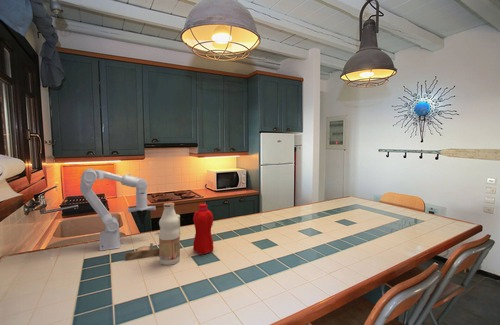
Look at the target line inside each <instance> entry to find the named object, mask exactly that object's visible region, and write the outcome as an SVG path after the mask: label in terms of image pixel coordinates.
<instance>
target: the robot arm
mask: <svg viewBox="0 0 500 325" xmlns="http://www.w3.org/2000/svg"><path fill="white" fill-rule="evenodd" d="M102 179H103V180H104V179H107V180H111V181H116V182H120V183H121V185H122V186H126V187H131V188H135V201H136V202H135V207H134V206H133V207H128V208H127V213H132V212H136V214H137V216H138V218H139V221H140V224H141V225H143V224H144V222H145V218H146V215H147V213H148V211H156V209H157V208H156V205H148V192H147V190H148V189H147V188H148V186H149V184H148V182H147V180H146V179H144V178H142V177H139V176H137V177H136V176H132V175H131V174H123V175H121V174H120V175H119V174H116V173H112V172H108V171H105V170H103V169H102V170H100V169H94V168H87V169H84V170H83V172H82V174H81V177H80V185H79V191H80V193H81V195H82V196H83V197H84V199H86V201H87V202H88V203H89V204H90V206H91V208H92V209H93V210H94V211H95V212H96V214H97V215H98V216H99V218H100V219H101V221H102V223H103V224H104V225H105V227H104V230H103V231H100V232H99V236H98V237H99V251H108V250H115V249H120V248H121V245H122V242H121V240H120V238H121V237H120V224H119V222H118V218H117V217H116V216H113V215H112V214H111V213H110V212H109V211H108V210H109V209H107V207H106V206H105V205H104V204H103V202H102V201H101V200H100V198H99V197H98V196H97V194H96V193H95V191H94V190H93V185H94V183H95V181H97V180H98V181H100V180H102Z"/></svg>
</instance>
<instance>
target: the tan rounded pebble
mask: <svg viewBox="0 0 500 325" xmlns="http://www.w3.org/2000/svg"><path fill="white" fill-rule="evenodd" d="M148 249H150V246H147V245H144V246H143V245H142V246H140V247H138V248H136V251H141V250H148Z"/></svg>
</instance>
